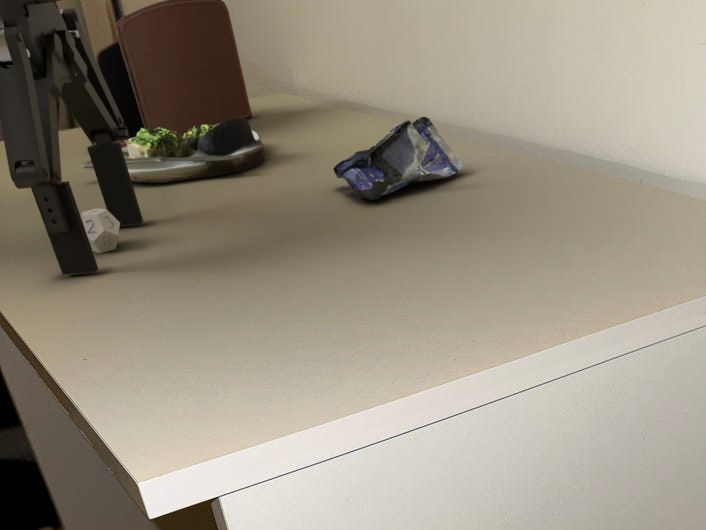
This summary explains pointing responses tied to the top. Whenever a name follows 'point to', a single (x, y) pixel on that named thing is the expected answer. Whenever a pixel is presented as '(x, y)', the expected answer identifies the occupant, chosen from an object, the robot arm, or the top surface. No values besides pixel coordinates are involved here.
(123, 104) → the letter holder
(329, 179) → the top surface
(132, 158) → the salad plate
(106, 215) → the game die
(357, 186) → the snack package
